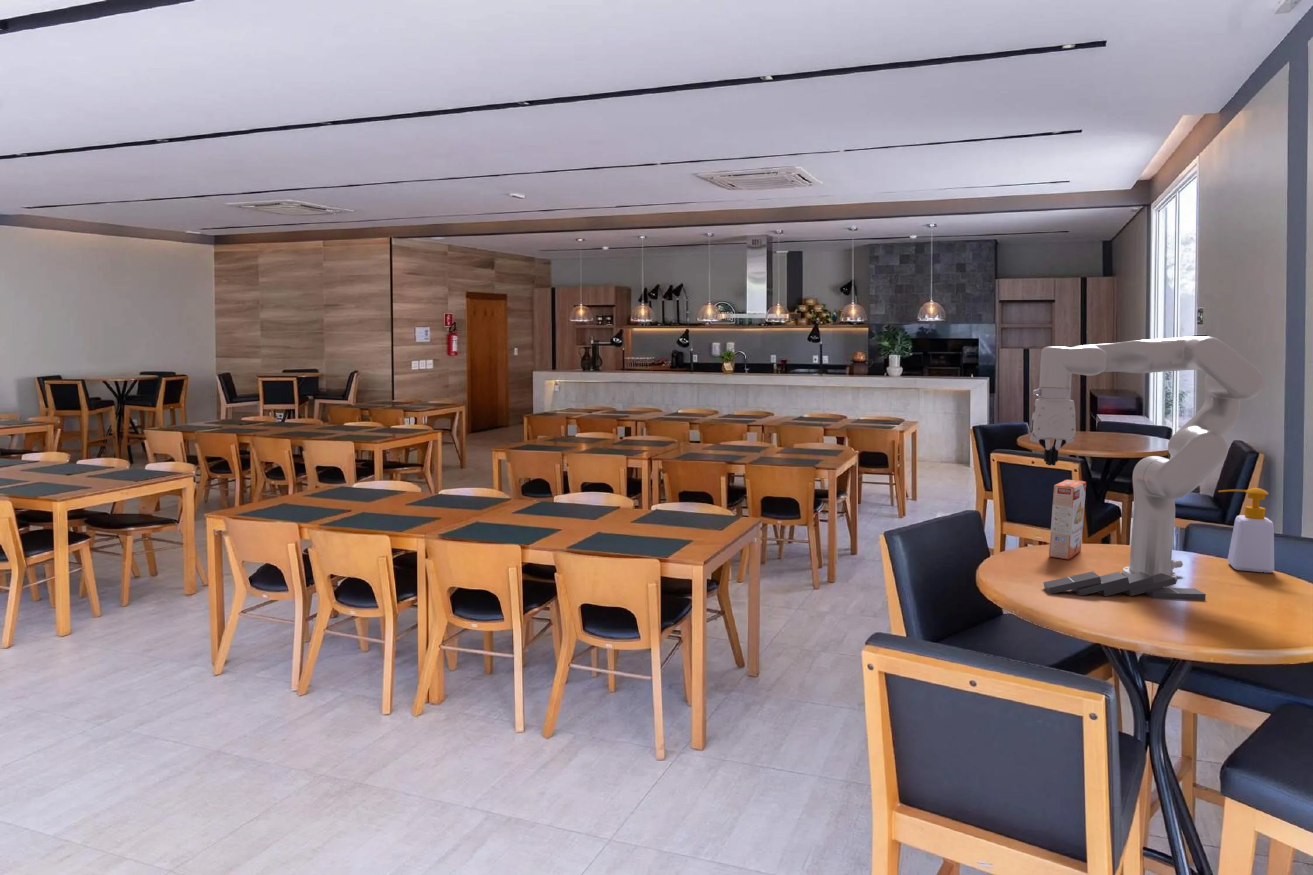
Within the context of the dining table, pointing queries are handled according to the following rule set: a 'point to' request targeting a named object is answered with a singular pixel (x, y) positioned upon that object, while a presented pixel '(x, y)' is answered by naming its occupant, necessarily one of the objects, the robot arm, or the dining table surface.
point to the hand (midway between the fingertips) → (1050, 464)
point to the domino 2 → (1104, 583)
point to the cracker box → (1067, 519)
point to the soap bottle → (1252, 537)
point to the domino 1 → (1072, 582)
